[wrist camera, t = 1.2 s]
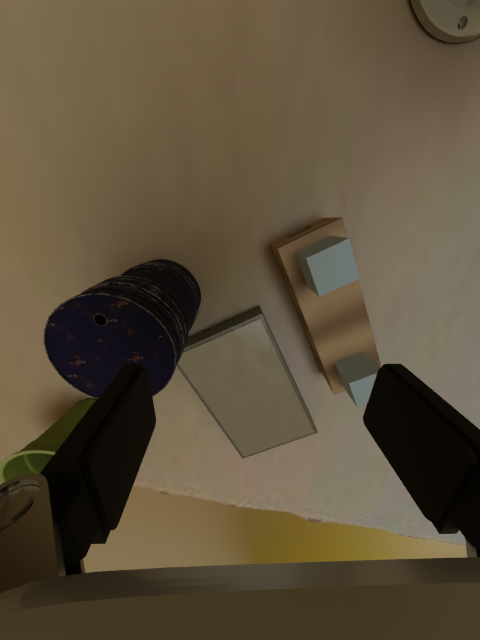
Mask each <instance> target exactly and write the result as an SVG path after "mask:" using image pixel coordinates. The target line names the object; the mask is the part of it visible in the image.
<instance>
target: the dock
mask: <svg viewBox="0 0 480 640" xmlns="http://www.w3.org/2000/svg"><path fill="white" fill-rule="evenodd" d="M176 366H177V367H178V369H179V370H180V371H181V373H182V374H183V376H184V377H185V378H186V380H187V381H188V383H189V384H190V385H191V387H192V388H193V390H194V391H195V392H196V394H197V395H198V397H199V398H200V399H201V401H202V402H203V404H204V405H205V406H206V408H207V409H208V411H209V412H210V413H211V415H212V416H213V418H214V419H215V420H216V422H217V423H218V425H219V426H220V427H221V429H222V430H223V432H224V433H225V434H226V436H227V437H228V439H229V440H230V441H231V443H232V444H233V446H234V447H235V449H236V450H237V451H238V453H239V454H240V456H241V457H242V458H245V457H248V456H251V455H254V454H257V453H260V452H263V451H266V450H269V449H271V448H274V447H277V446H280V445H283V444H286V443H289V442H292V441H295V440H297V439H300V438H303V437H306V436H309V435H312V434H315V433H318V432H317V429H316V427H315V424H314V422H313V419H312V417H311V415H310V413H309V411H308V408H307V406H306V404H305V402H304V400H303V398H302V396H301V393H300V391H299V389H298V387H297V385H296V383H295V381H294V378H293V376H292V374H291V372H290V370H289V368H288V366H287V363H286V361H285V359H284V357H283V355H282V353H281V351H280V349H279V346H278V344H277V342H276V340H275V338H274V336H273V334H272V331H271V329H270V327H269V325H268V323H267V321H266V319H265V316H264V314H263V312H262V310H261V308H260V306H258V307H255V308H253V309H251V310H249V311H247V312H244V313H242V314H240V315H238V316H236V317H233V318H231V319H229V320H227V321H224V322H222V323H220V324H218V325H216V326H213V327H211V328H209V329H207V330H204V331H202V332H200V333H198V334H196V335H193V336H191V337H189V338H188V339H187V343H186V346H185V348H184V351H183V353H182V356H181V358H180V360H179V362H178V364H177V365H176Z"/></svg>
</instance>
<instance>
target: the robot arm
mask: <svg viewBox="0 0 480 640" xmlns="http://www.w3.org/2000/svg"><path fill="white" fill-rule="evenodd" d="M411 3H412V7H413V9H414V11H415V14H416V16H417V18H418V20H419V21H420V23H421V24H422V25H423V27H424V28H425V29H426V31H428V32H429V33H430V34H431V35H433V36H434V37H435V38H437V39H440V40H443V41H445V42H452V43H462V42H467V41H472V40H474V39H476V38H479V37H480V0H411ZM363 421H364V424H365V426H366V428H367V429H368V431H369V432H370V434H371V435H372V437H373V439H374V440H375V442H376V443H377V445H378V446H379V448H380V449H381V451H382V452H383V454H384V455H385V457H386V458H387V460H388V461H389V463H390V465H391V466H392V468H393V469H394V471H395V472H396V474H397V475H398V477H399V478H400V480H401V481H402V483H403V484H404V486H405V487H406V489H407V491H408V492H409V494H410V495H411V497H412V498H413V500H414V501H415V503H416V504H417V506H418V507H419V509H420V510H421V512H422V513H423V515H424V516H425V517H426V518H427V519H428V520H429V521H431V522H432V523H433V525H434V526H435V528H436V529H437V531H438V532H439V534H454V533H457V532H458V531H459V530H460V531H461V533H462V534H463V535H464V537H465V540H466V549H467V558H433V559H396V560H364V561H363V560H362V561H333V562H332V561H331V562H302V563H272V564H246V565H223V566H196V567H170V568H153V569H137V570H119V571H105V572H104V571H103V572H92V573H85V568H84V562H83V558H84V557H85V556H86V554H87V552H88V550H89V548H90V545H91V544H105V542H106V540H107V538H108V535H109V533H110V530H115V528H116V527H117V525H118V523H119V521H120V518H121V516H122V513H123V510H124V507H125V505H126V502H127V499H128V497H129V494H130V492H131V489H132V486H133V484H134V481H135V478H136V476H137V473H138V471H139V468H140V465H141V463H142V460H143V457H144V455H145V452H146V449H147V447H148V444H149V441H150V439H151V436H152V433H153V431H154V428H155V424H156V416H155V410H154V404H153V398H152V392H151V386H150V380H149V374H148V369H147V368H146V367H143V365H142V364H125V365H124V366H123V367H122V369H121V370H120V371H119V373H118V374H117V375H116V376H115V378H114V379H113V380H112V382H111V383H110V384H109V386H108V387H107V388H106V390H105V391H104V392H103V394H102V395H101V396H100V398H99V399H98V400H96V401H95V402H94V403H93V404H92V406H91V407H90V408H89V410H88V411H87V412H86V414H85V415H84V416H83V417H82V419H81V420H80V421H79V423H78V424H77V425H76V427H75V428H74V429H73V430H72V432H71V433H70V434H69V436H68V437H67V438H66V440H65V441H64V442H63V443H62V445H61V446H60V447H59V449H58V450H57V451H56V453H55V454H54V455H53V457H52V458H51V459H50V460H49V462H48V463H47V464H46V466H45V467H44V468H43V470H42V471H41V472H40V473H28V474H23V475H19V476H17V477H14V478H12V479H9V480H7V481H6V482H4V483H2V484H1V485H0V640H480V429H478V428H477V427H476V426H475V425H474V424H472V423H471V422H470V421H469V420H468V419H466V418H465V417H464V416H463V415H462V414H460V413H459V412H458V411H457V410H456V409H454V408H453V407H452V406H451V405H450V404H449V403H447V402H446V401H445V400H444V399H443V398H441V397H440V396H439V395H438V394H437V393H435V392H434V391H433V390H432V389H431V388H429V387H428V386H427V385H426V384H425V383H423V382H422V381H421V380H420V379H419V378H417V377H416V376H415V375H414V374H413V373H412V372H410V371H409V370H408V369H407V368H406V367H404V366H403V365H401V364H384V365H383V366H382V367H381V368H379V370H378V372H377V375H376V378H375V381H374V385H373V388H372V391H371V394H370V397H369V400H368V403H367V406H366V410H365V413H364V416H363Z"/></svg>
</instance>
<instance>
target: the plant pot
mask: <svg viewBox="0 0 480 640" xmlns="http://www.w3.org/2000/svg"><path fill="white" fill-rule="evenodd" d="M95 401H96V399H86V400H83V401H81V402H79V403H78V404H76V405H75V406H74V407H73V408H72V409H71V410H69V411H68V412H67V413H66V414H65V415H64V416H62V417H61V418H60V419H59V420H58V421H57V422H56V423H54V424H53V425H52V426H51V427H50V428H49V429H48V430H46V431H45V432H44V433H43V434H42V435H41V436H40V437H38V438H37V439H36V440H34V441H32V442H31V443H29V444H28V445H27V446H26V447H25V448H23V449H22V450H21V451H20V452H17V453H14V454H12V455H10V456H8V457H7V458H6V459H4V460H3V461H2V463H1V464H0V483H1V484H2V483H4V482H6V481H7V480H9V479H12V478H14V477H17V476H19V475H23V474H28V473H40V472H41V471H42V470H43V468H44V467H45V466H46V464H47V463H48V462H49V460H50V459H51V458H52V457H53V455H54V454H55V453H56V451H57V450H58V449H59V447H60V446H61V445H62V443H63V442H64V441H65V440H66V438H67V437H68V436H69V434H70V433H71V432H72V430H73V429H74V428H75V427H76V425H77V424H78V423H79V421H80V420H81V419H82V417H83V416H84V415H85V414H86V412H87V411H88V410H89V408H90V407H91V406H92V404H93V403H94V402H95Z"/></svg>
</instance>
